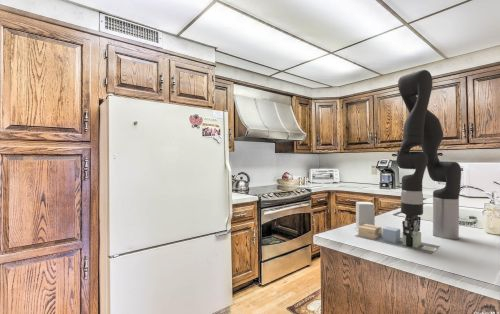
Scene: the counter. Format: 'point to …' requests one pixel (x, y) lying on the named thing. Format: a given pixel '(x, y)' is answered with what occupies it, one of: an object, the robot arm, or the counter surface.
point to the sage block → (414, 239)
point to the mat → (400, 244)
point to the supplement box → (365, 213)
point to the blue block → (391, 234)
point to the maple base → (370, 231)
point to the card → (429, 248)
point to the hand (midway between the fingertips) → (411, 244)
